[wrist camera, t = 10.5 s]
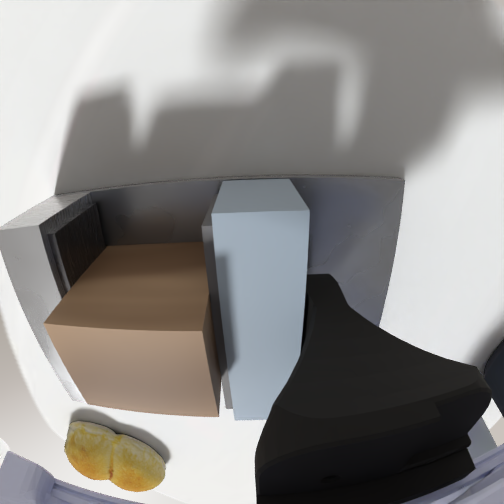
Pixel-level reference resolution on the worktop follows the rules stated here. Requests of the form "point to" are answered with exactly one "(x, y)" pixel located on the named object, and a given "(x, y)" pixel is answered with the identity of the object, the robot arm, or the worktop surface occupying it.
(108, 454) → the bread roll
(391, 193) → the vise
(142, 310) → the walnut block
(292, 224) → the sliding jaw
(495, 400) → the beverage can
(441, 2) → the worktop surface
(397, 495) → the robot arm
